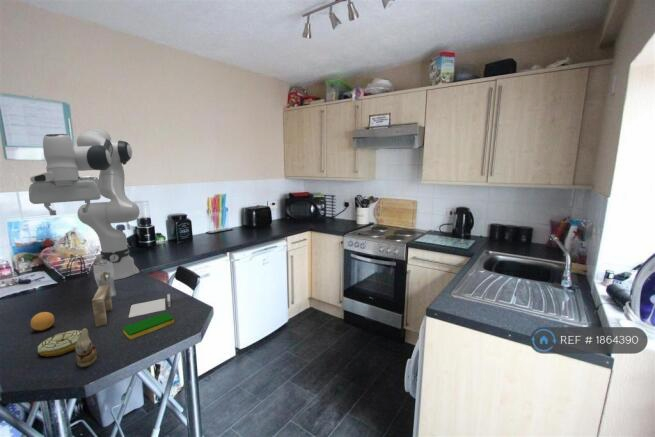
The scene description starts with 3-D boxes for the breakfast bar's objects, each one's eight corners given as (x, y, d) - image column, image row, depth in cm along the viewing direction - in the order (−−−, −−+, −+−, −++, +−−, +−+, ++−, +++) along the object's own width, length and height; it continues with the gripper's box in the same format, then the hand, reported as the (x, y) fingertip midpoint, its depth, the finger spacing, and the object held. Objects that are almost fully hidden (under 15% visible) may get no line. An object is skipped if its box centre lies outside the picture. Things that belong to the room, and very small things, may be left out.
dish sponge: (123, 333, 99) (122, 327, 99) (166, 318, 110) (165, 311, 109) (130, 341, 95) (129, 334, 94) (174, 324, 105) (174, 317, 105)
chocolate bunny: (67, 370, 80) (61, 336, 79) (85, 353, 88) (79, 322, 86) (90, 367, 81) (84, 334, 80) (105, 351, 89) (101, 320, 87)
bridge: (95, 326, 103) (91, 300, 102) (103, 309, 116) (99, 286, 115) (106, 324, 105) (102, 298, 103) (112, 307, 118) (109, 284, 116)
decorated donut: (50, 343, 94) (48, 332, 94) (90, 336, 98) (89, 325, 97) (31, 362, 85) (29, 350, 84) (77, 353, 88) (75, 342, 88)
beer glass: (106, 299, 125) (101, 266, 123) (93, 298, 127) (88, 265, 124) (121, 293, 132) (116, 261, 130) (108, 292, 134) (103, 260, 131)
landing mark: (131, 305, 120) (131, 305, 120) (165, 298, 125) (165, 298, 125) (128, 317, 109) (128, 317, 109) (165, 310, 115) (165, 309, 115)
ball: (35, 327, 104) (32, 311, 103) (58, 323, 106) (55, 307, 106) (29, 335, 98) (25, 318, 97) (52, 330, 101) (49, 314, 100)
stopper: (167, 300, 124) (167, 294, 124) (170, 299, 125) (169, 293, 124) (168, 307, 117) (167, 301, 117) (171, 306, 118) (170, 300, 117)
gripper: (99, 176, 119) (104, 210, 120) (30, 179, 108) (36, 216, 109) (97, 175, 113) (102, 210, 114) (23, 177, 103) (30, 217, 104)
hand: (69, 213), depth 112 cm, fingers open, 8 cm apart
